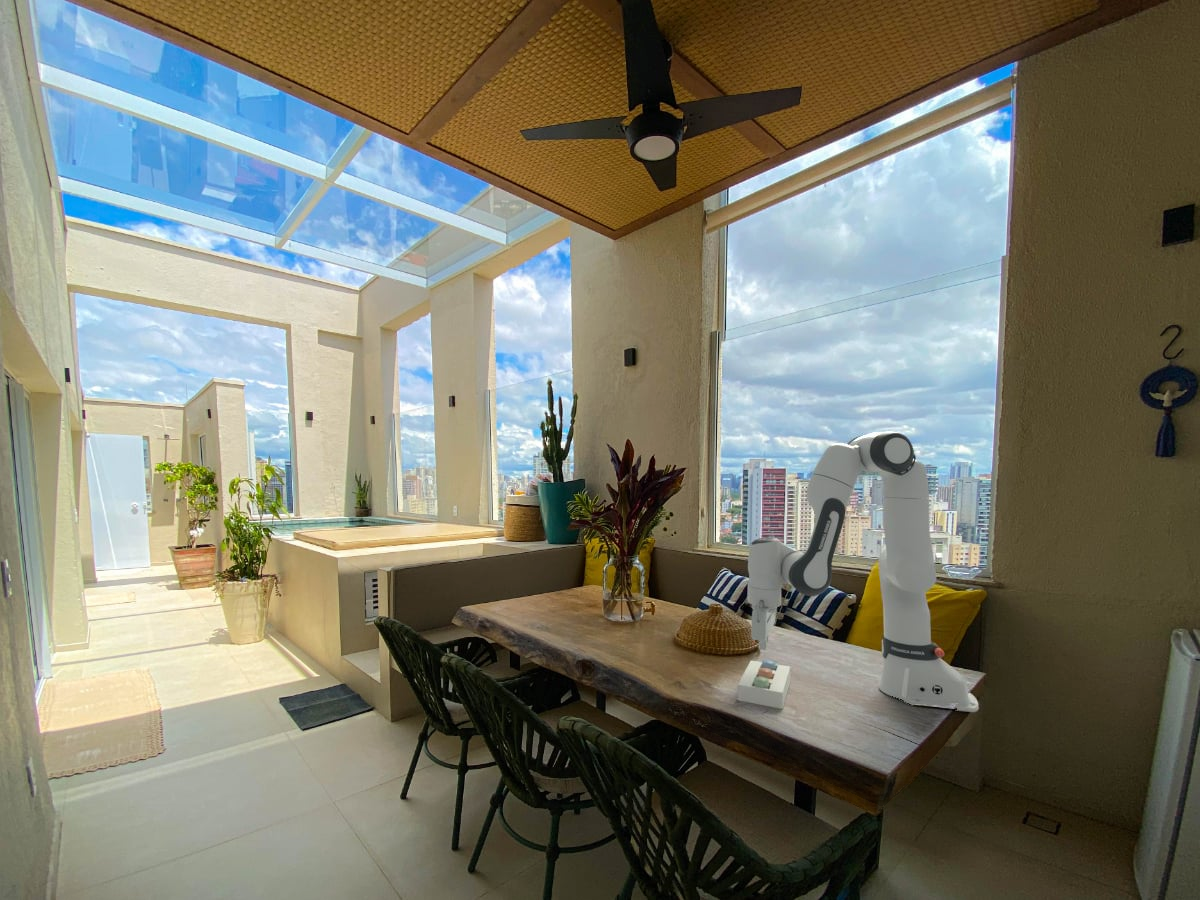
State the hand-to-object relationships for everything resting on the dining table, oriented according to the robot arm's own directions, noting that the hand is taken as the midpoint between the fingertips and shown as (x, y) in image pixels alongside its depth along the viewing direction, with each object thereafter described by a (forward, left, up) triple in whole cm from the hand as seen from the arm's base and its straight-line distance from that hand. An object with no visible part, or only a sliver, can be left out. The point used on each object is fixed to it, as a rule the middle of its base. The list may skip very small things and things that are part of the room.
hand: (763, 648), depth 139 cm
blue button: (0, -7, -9) cm, 11 cm away
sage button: (0, +7, -9) cm, 11 cm away
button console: (0, 0, -11) cm, 11 cm away
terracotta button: (0, 0, -9) cm, 9 cm away
